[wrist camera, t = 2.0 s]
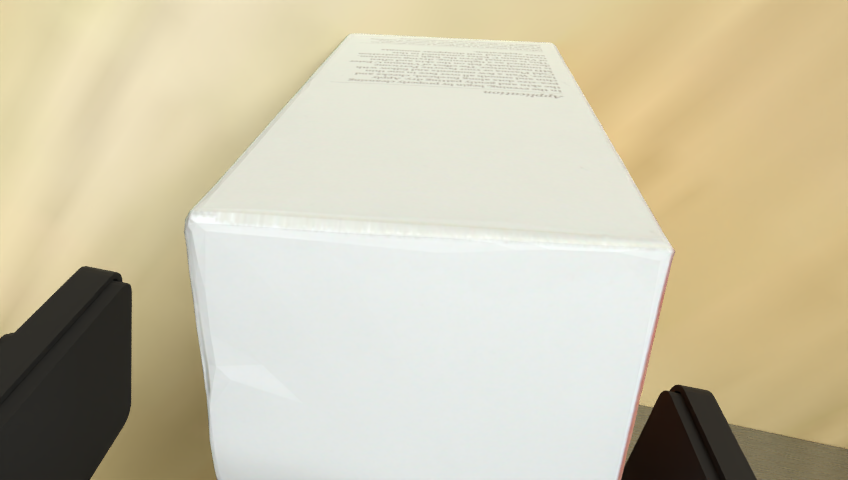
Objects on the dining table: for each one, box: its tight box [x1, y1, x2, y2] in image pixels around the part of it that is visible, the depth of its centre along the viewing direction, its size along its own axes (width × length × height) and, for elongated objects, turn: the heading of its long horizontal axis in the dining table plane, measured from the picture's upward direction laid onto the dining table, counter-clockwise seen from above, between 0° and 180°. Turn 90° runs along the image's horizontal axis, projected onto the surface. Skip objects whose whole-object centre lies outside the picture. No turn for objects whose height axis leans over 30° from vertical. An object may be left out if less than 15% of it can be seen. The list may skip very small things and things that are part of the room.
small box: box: [184, 33, 675, 480], centre depth 16 cm, size 8×6×13 cm
